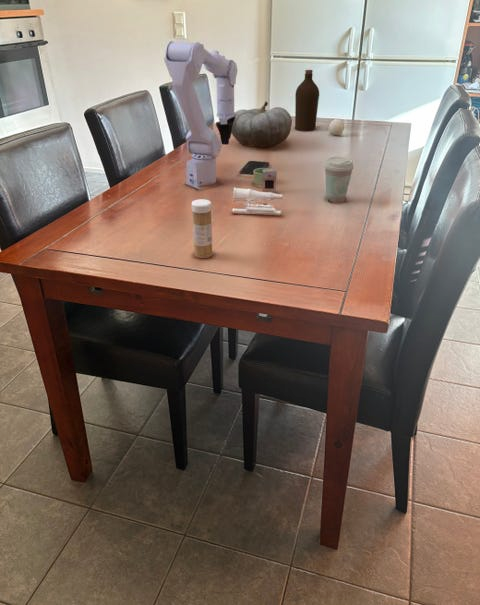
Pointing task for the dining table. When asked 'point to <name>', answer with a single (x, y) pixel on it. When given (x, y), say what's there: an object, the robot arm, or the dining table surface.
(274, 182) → the rectangular block
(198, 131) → the robot arm
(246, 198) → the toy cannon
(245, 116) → the gourd
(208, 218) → the sprinkles bottle
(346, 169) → the coffee cup
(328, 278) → the dining table surface
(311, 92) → the olive oil
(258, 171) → the cup
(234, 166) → the dining table surface
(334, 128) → the baseball
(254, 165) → the phone
